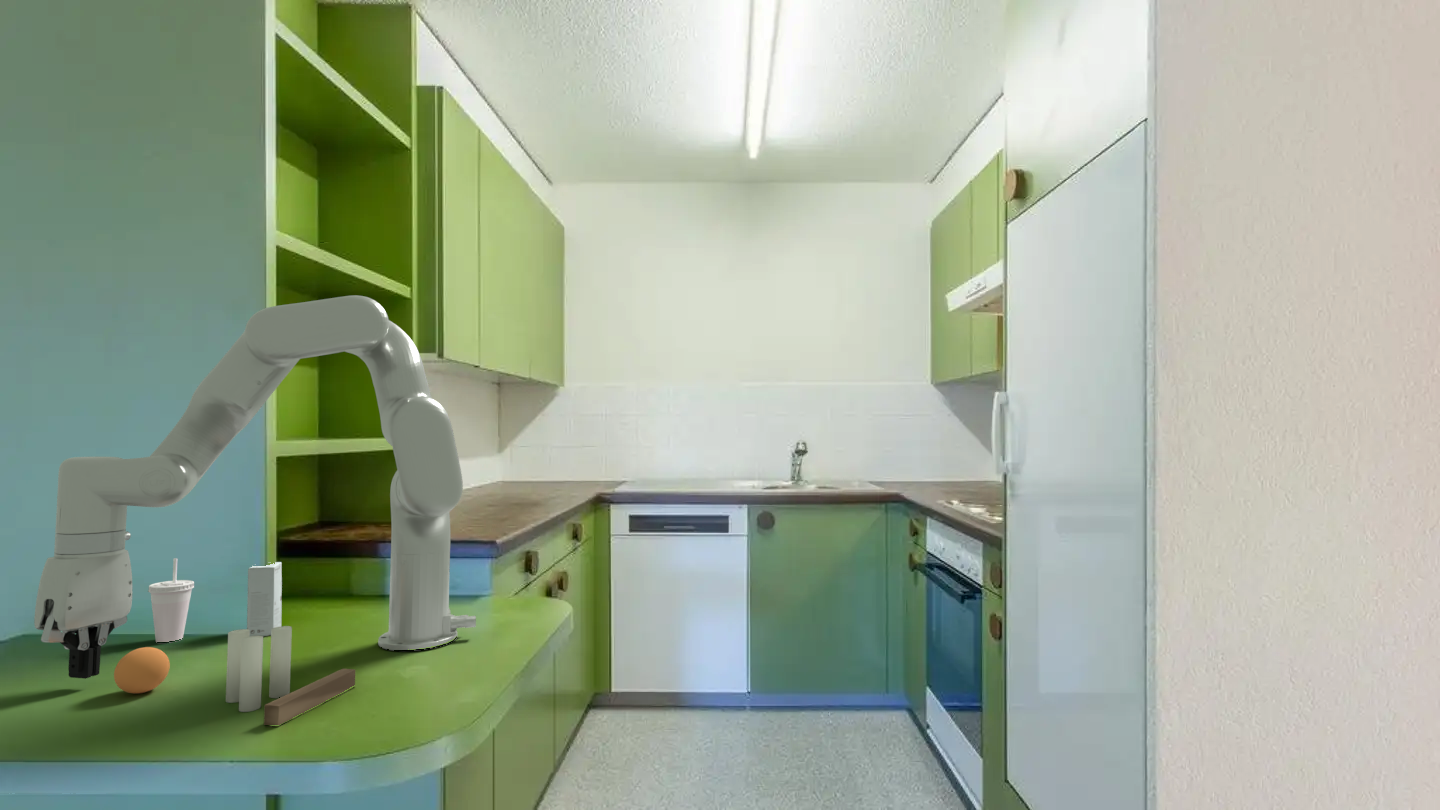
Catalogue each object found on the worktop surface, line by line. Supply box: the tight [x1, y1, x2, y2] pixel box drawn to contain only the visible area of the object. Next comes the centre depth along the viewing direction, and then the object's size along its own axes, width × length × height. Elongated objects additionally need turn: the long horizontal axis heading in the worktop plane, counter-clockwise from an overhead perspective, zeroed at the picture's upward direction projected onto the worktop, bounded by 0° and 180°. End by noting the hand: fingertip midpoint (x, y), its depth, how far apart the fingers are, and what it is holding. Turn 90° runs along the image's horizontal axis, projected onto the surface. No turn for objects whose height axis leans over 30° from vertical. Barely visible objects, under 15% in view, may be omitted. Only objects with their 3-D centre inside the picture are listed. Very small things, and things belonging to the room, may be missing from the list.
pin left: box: [238, 636, 264, 713], centre depth 93 cm, size 2×2×9 cm
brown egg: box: [113, 646, 171, 694], centre depth 98 cm, size 6×6×6 cm
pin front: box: [225, 628, 250, 704], centre depth 96 cm, size 2×2×9 cm
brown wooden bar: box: [263, 668, 356, 726], centre depth 94 cm, size 2×14×2 cm, turn 170°
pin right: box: [268, 625, 293, 699], centre depth 98 cm, size 2×2×9 cm
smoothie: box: [147, 557, 195, 643], centre depth 124 cm, size 6×6×14 cm
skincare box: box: [246, 561, 283, 637], centre depth 129 cm, size 6×4×12 cm
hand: (83, 675), depth 100 cm, fingers closed
